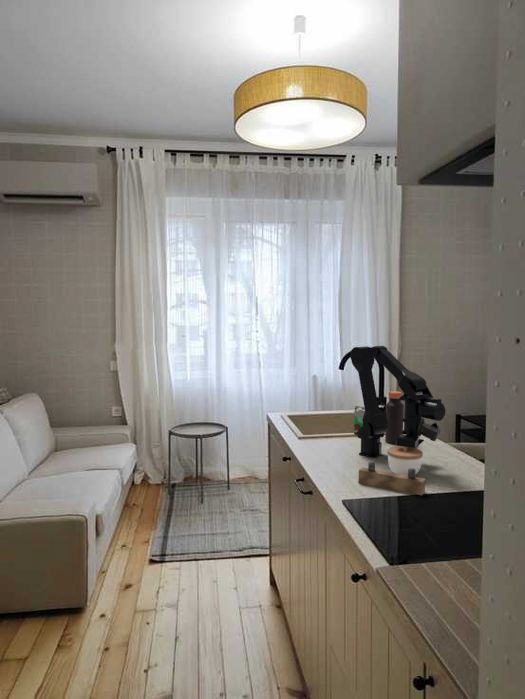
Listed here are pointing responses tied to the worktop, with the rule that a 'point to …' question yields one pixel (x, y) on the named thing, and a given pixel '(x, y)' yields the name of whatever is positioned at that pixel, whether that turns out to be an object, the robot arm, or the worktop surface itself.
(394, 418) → the bottle
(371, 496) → the worktop surface
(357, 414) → the food container
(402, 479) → the stop bar
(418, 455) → the lidded jar
